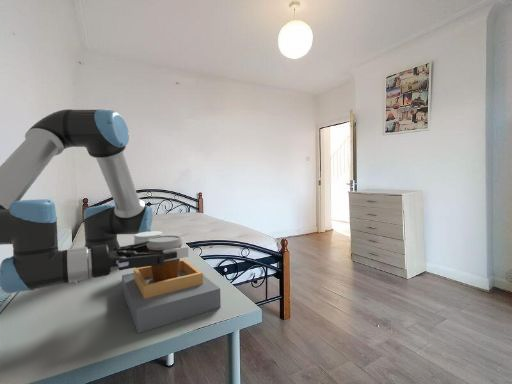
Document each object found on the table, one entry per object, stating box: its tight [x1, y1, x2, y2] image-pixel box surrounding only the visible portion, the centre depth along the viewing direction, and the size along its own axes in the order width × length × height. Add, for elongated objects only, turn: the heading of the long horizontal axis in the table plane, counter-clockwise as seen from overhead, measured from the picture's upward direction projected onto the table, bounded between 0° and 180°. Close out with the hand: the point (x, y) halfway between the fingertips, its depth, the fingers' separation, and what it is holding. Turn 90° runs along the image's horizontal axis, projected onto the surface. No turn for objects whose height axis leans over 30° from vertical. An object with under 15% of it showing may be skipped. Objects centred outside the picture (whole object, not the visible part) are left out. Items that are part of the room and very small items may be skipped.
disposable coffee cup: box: [146, 234, 184, 283], centre depth 72 cm, size 10×10×12 cm
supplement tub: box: [133, 230, 164, 268], centre depth 92 cm, size 10×10×15 cm
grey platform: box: [121, 258, 222, 334], centre depth 75 cm, size 30×20×8 cm, turn 34°
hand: (181, 247), depth 75 cm, fingers open, 10 cm apart
